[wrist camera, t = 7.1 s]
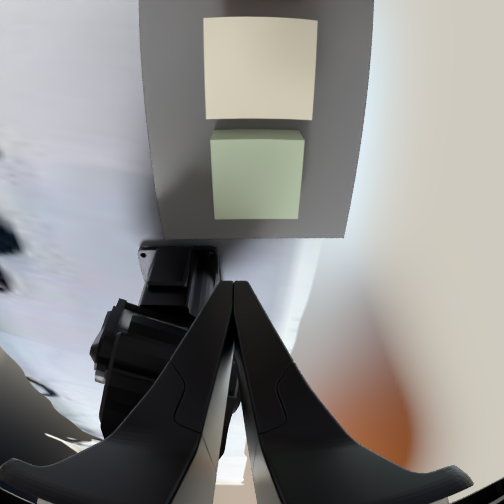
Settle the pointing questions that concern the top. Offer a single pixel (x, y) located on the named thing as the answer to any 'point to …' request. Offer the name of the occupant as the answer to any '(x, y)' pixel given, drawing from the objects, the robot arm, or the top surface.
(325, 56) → the gray rectangular slab
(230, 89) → the cream cube
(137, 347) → the robot arm
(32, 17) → the top surface
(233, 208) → the pale green cube
